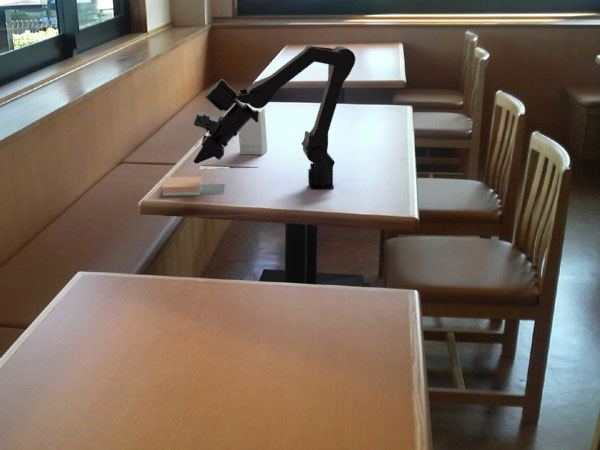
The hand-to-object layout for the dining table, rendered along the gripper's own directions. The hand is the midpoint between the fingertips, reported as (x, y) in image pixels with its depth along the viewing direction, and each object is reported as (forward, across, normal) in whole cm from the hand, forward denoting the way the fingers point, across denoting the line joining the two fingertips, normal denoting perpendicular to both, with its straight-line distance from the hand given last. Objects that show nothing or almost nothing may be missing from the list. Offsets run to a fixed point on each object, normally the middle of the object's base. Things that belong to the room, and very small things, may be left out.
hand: (194, 162), depth 185 cm
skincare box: (-5, -40, +17) cm, 43 cm away
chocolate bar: (+1, -18, +12) cm, 22 cm away
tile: (+4, 0, +6) cm, 7 cm away
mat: (+5, 0, +7) cm, 9 cm away
